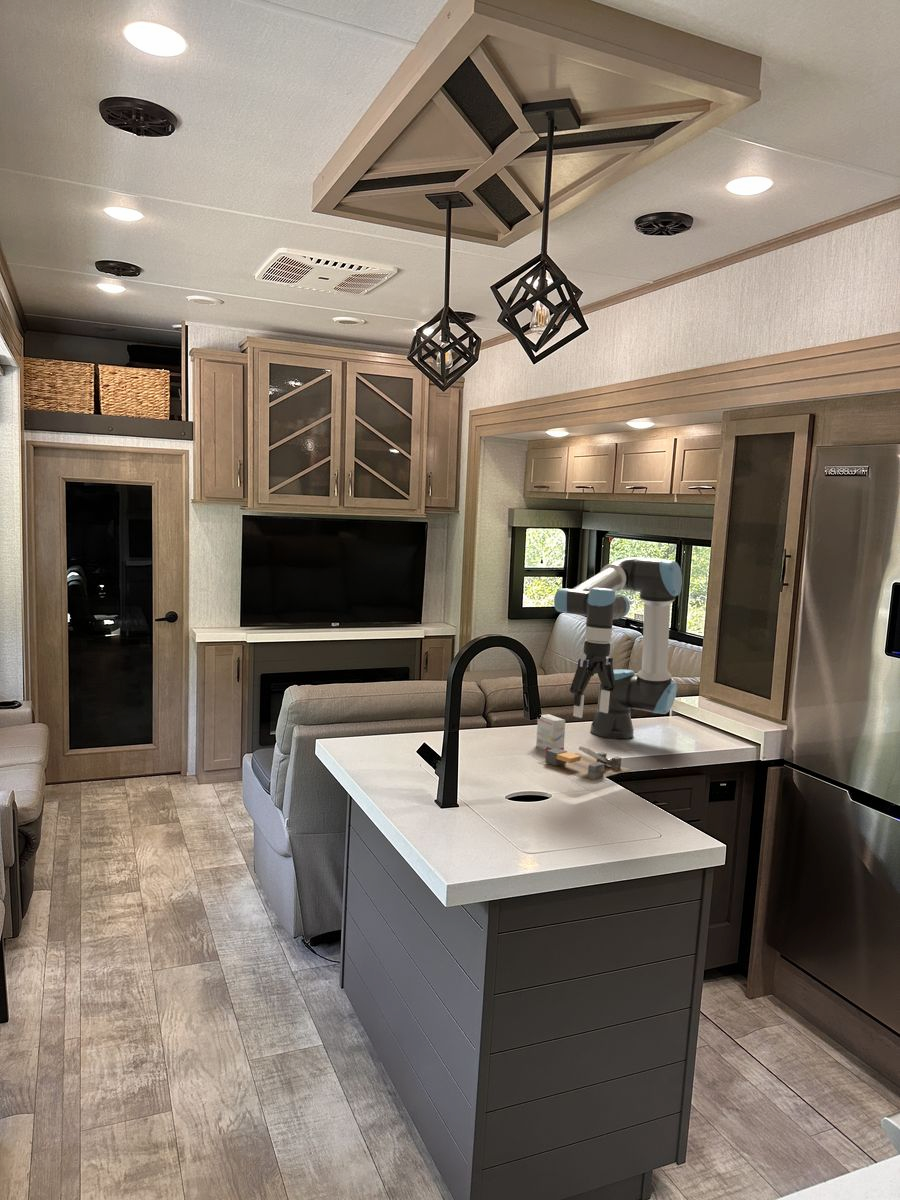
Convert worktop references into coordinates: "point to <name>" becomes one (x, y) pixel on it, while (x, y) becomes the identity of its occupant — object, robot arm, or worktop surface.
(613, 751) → the worktop surface
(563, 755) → the latch
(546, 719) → the ink box
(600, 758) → the strap
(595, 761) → the board
